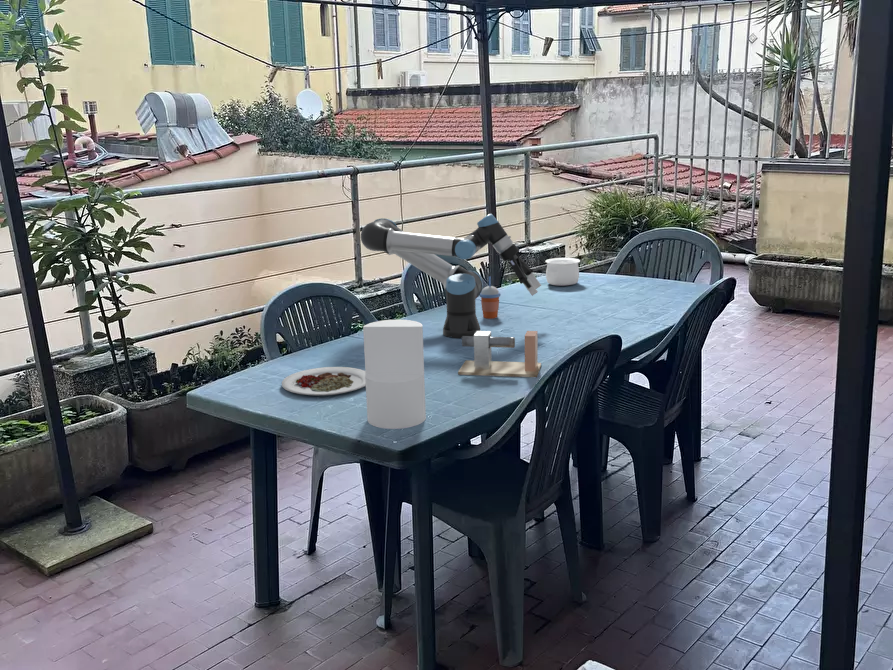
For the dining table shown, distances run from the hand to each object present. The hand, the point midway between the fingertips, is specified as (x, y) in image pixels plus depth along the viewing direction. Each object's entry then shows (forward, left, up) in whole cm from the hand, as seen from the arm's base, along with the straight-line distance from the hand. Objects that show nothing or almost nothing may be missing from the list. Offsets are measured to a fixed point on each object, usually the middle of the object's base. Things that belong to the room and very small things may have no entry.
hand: (536, 290), depth 354 cm
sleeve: (-12, -61, -15) cm, 64 cm away
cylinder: (-29, -113, -16) cm, 118 cm away
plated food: (-61, -84, -16) cm, 105 cm away
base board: (-6, -61, -15) cm, 63 cm away
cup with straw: (-22, +16, -16) cm, 31 cm away
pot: (+3, +90, -16) cm, 91 cm away
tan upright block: (+5, -61, -15) cm, 63 cm away
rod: (-10, -61, -7) cm, 62 cm away
